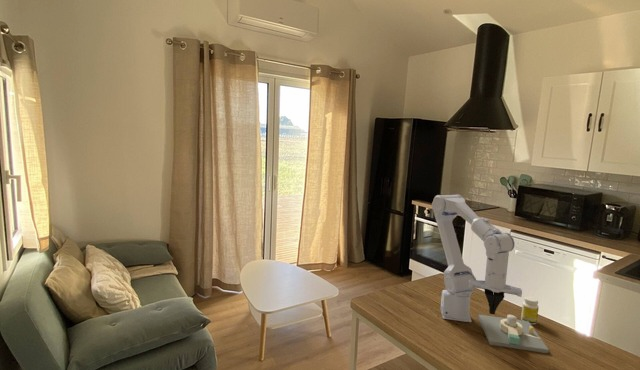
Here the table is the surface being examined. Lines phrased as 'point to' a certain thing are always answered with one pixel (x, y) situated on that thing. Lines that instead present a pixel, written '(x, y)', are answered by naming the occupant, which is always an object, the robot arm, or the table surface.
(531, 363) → the table surface
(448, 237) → the robot arm
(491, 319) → the post board
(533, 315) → the supplement bottle
